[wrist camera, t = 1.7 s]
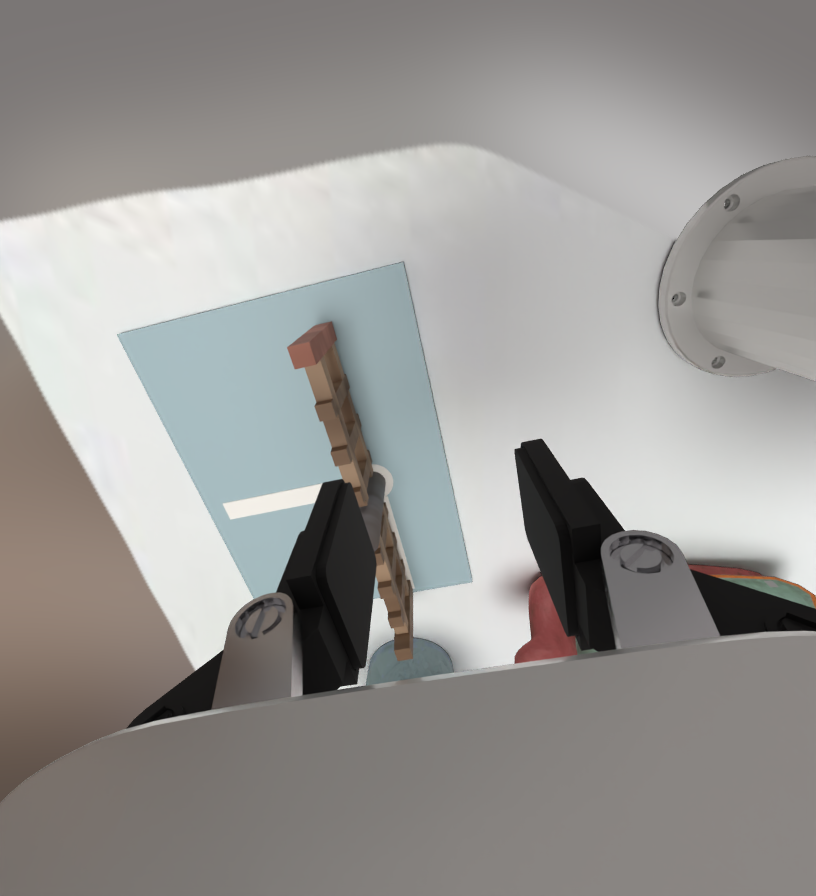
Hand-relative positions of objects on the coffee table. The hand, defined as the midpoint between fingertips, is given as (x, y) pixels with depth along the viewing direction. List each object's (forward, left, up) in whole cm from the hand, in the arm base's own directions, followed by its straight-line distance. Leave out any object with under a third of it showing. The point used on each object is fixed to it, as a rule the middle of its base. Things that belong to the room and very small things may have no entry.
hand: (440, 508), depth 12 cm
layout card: (+10, +8, -19) cm, 23 cm away
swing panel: (+6, +2, -19) cm, 20 cm away
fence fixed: (+6, +14, -19) cm, 25 cm away
